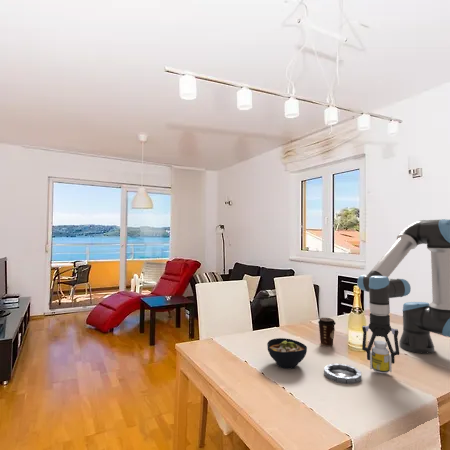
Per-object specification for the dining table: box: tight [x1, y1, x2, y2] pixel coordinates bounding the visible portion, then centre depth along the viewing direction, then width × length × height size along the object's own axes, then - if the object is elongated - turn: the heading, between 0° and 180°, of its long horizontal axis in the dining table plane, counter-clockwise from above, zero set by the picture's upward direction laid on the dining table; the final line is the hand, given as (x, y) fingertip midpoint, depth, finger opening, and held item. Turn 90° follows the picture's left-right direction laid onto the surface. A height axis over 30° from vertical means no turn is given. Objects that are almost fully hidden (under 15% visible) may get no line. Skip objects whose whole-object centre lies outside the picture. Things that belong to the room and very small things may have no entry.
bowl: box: [266, 337, 308, 370], centre depth 139 cm, size 17×17×10 cm
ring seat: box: [323, 363, 362, 385], centre depth 129 cm, size 14×14×2 cm
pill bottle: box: [371, 340, 390, 374], centre depth 131 cm, size 6×6×12 cm
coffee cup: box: [317, 317, 336, 347], centre depth 166 cm, size 9×8×13 cm
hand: (380, 369), depth 131 cm, fingers closed on pill bottle, 6 cm apart
